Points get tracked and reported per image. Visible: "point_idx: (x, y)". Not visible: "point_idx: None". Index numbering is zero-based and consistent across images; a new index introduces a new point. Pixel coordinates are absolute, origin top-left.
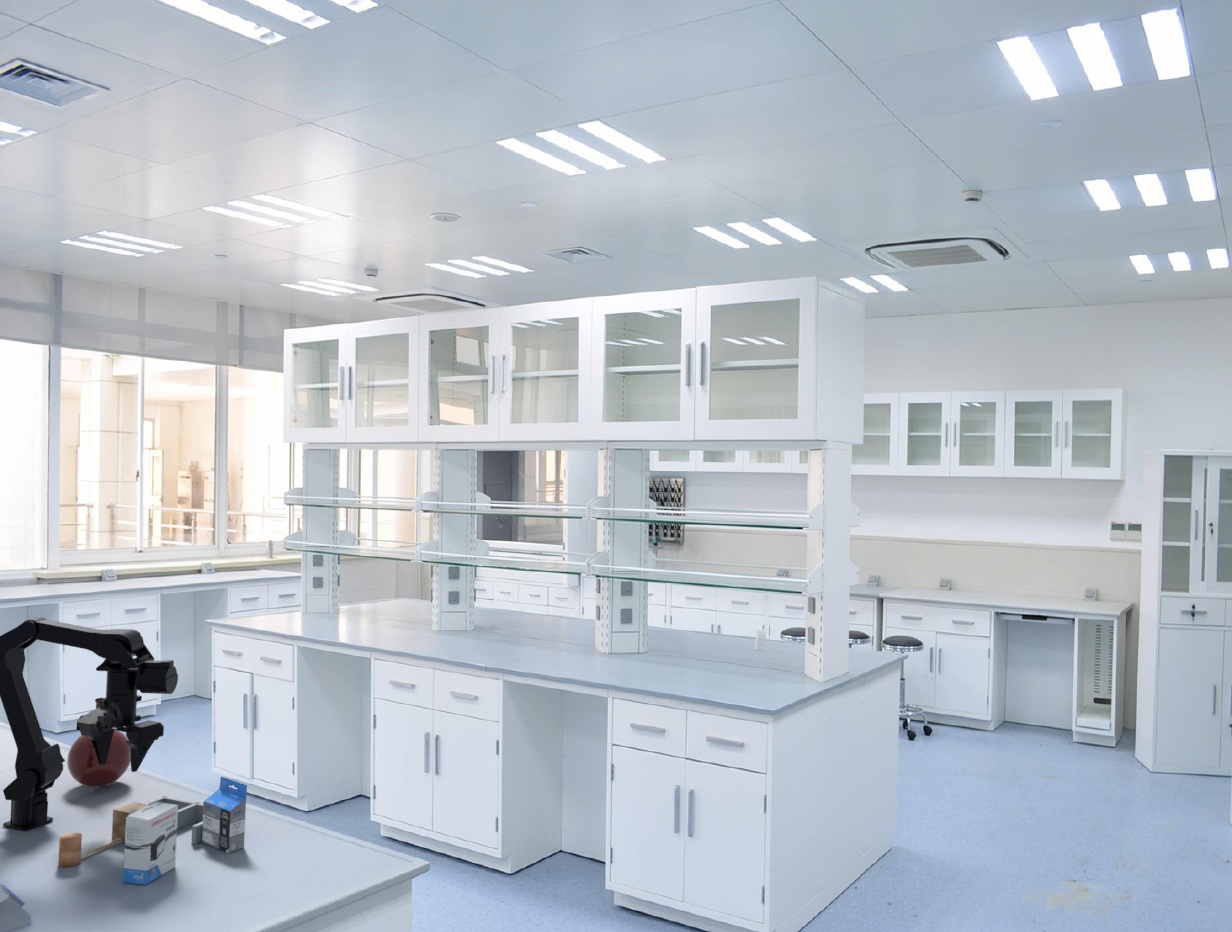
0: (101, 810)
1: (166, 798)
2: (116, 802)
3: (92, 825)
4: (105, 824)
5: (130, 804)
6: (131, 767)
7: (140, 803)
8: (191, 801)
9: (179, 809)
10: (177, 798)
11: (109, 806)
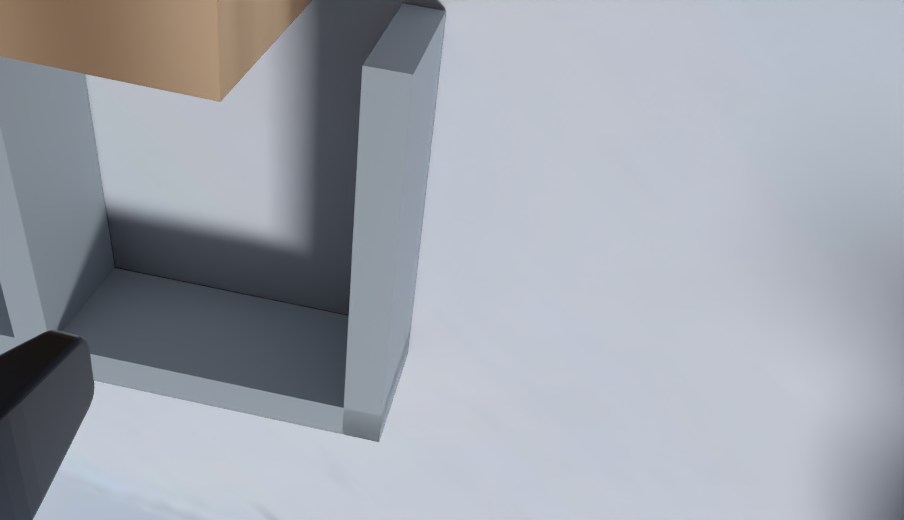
0: (897, 312)
1: (317, 400)
2: (867, 450)
3: (772, 8)
4: (665, 60)
5: (173, 5)
6: (23, 374)
7: (110, 66)
8: (103, 378)
9: (24, 228)
10: (245, 412)
11: (877, 385)
